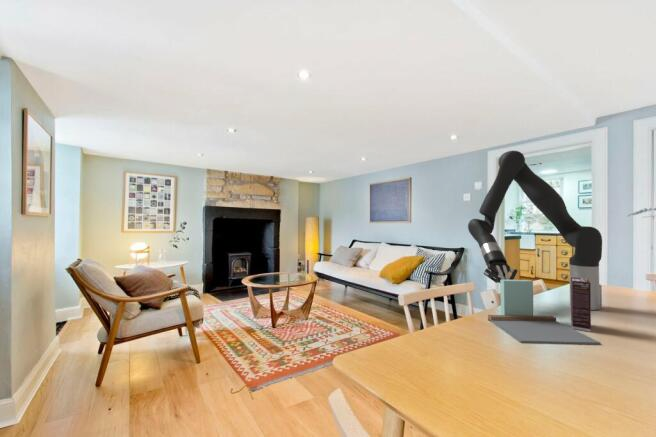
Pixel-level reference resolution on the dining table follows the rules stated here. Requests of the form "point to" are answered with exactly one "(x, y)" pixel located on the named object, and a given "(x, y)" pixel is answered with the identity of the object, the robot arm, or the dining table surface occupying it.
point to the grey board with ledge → (539, 330)
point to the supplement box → (581, 304)
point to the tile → (516, 297)
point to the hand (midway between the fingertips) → (509, 291)
